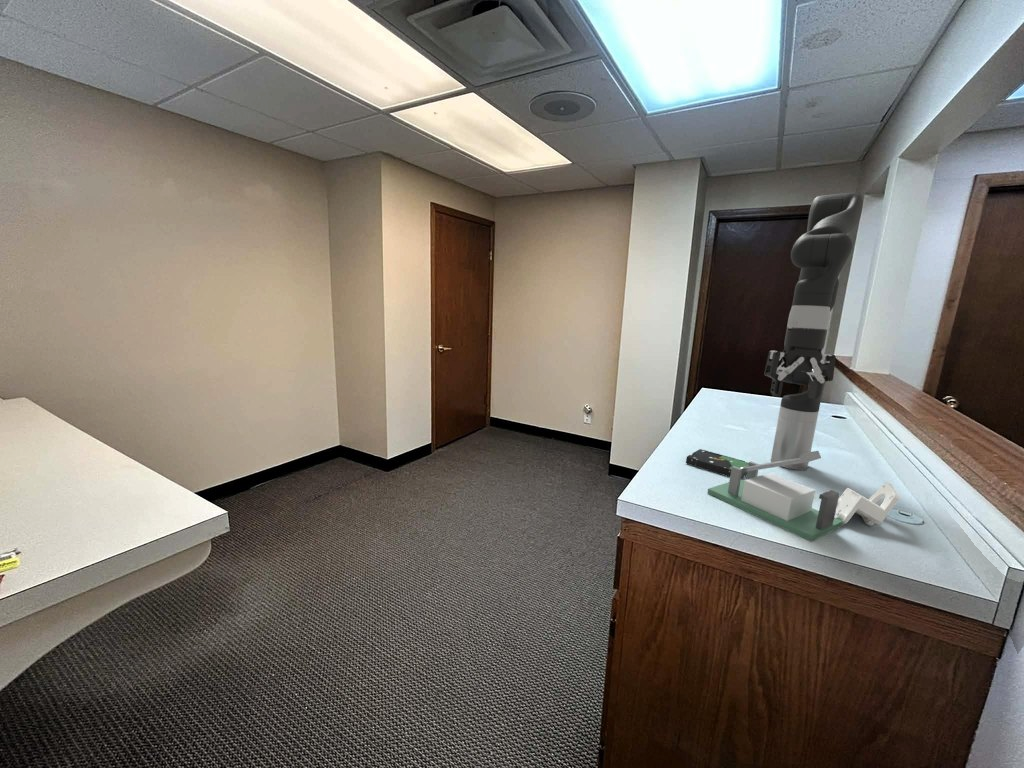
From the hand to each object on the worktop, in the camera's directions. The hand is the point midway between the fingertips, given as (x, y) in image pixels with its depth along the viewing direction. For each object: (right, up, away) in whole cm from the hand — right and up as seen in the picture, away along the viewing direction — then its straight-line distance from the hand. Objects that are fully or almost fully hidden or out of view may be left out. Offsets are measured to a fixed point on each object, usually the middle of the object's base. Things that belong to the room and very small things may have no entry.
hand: (794, 397), depth 95 cm
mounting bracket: (+12, -27, -4) cm, 30 cm away
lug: (-1, -26, -10) cm, 28 cm away
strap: (-6, -16, -2) cm, 17 cm away
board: (-6, -26, -1) cm, 26 cm away
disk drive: (-6, -21, +23) cm, 32 cm away
